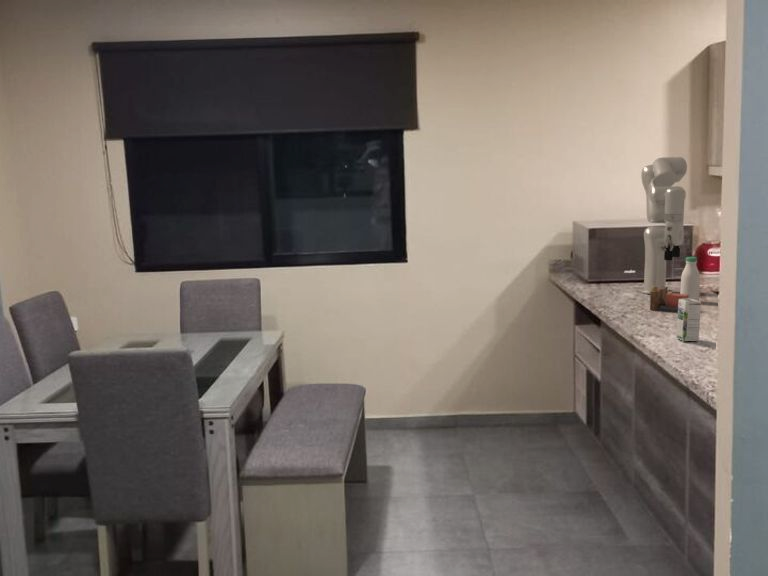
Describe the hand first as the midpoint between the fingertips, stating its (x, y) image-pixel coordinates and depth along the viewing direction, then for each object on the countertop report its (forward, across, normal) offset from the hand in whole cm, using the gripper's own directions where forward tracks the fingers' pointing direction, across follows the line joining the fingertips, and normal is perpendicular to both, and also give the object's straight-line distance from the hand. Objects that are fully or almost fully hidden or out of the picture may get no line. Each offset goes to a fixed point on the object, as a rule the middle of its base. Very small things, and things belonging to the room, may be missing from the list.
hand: (672, 258), depth 317 cm
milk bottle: (+22, +16, -3) cm, 27 cm away
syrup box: (+20, -55, -23) cm, 63 cm away
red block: (+21, -2, -4) cm, 21 cm away
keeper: (+21, -3, -4) cm, 22 cm away
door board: (+21, -2, +4) cm, 22 cm away
